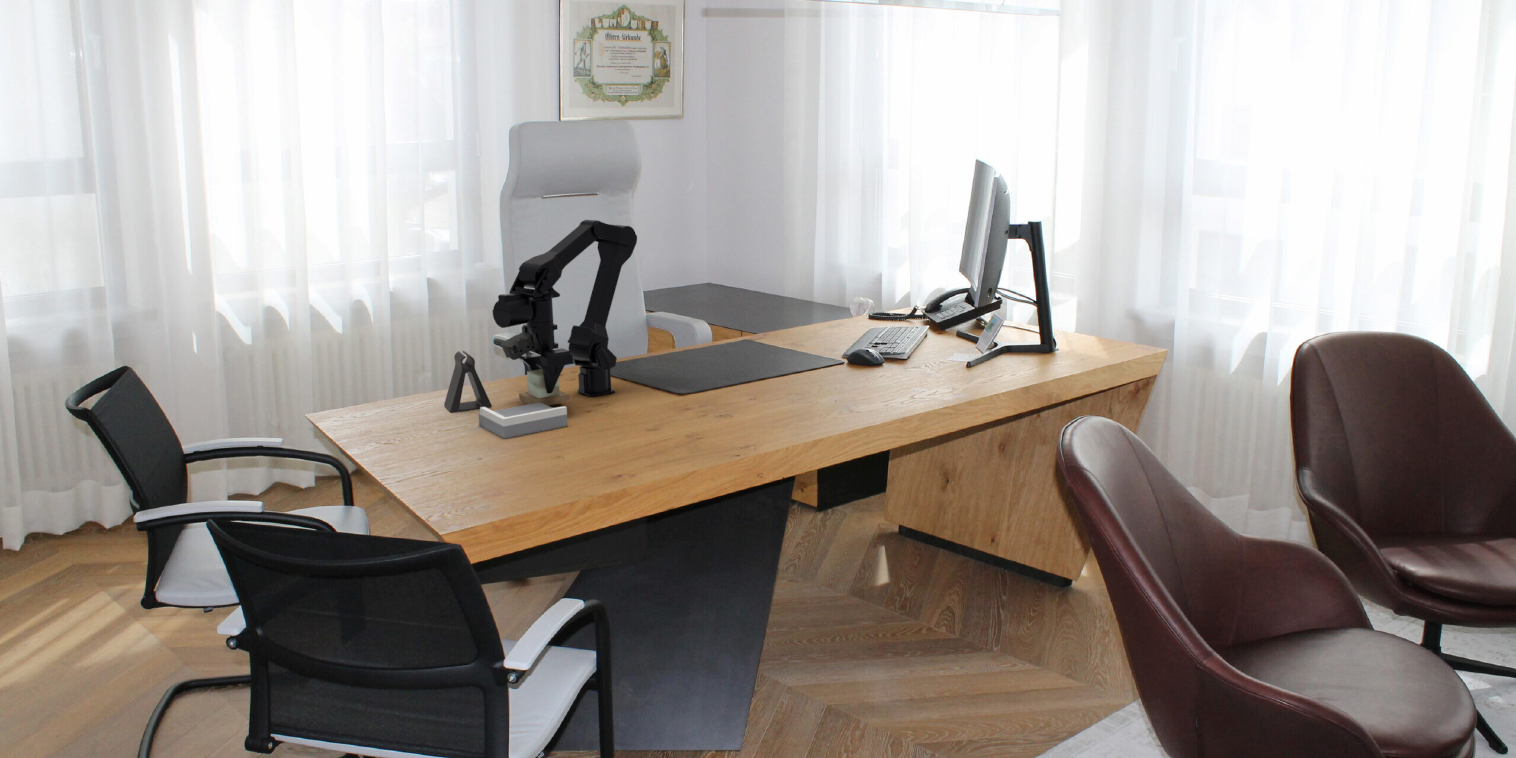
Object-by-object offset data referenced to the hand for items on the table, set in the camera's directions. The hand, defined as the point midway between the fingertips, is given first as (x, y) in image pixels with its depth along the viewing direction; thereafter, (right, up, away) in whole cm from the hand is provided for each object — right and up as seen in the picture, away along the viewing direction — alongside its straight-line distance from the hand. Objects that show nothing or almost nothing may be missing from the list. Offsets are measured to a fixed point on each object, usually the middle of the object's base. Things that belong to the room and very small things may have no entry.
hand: (543, 390), depth 238 cm
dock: (-2, -7, -13) cm, 15 cm away
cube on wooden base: (0, -2, +1) cm, 2 cm away
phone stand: (-17, -4, +2) cm, 17 cm away
